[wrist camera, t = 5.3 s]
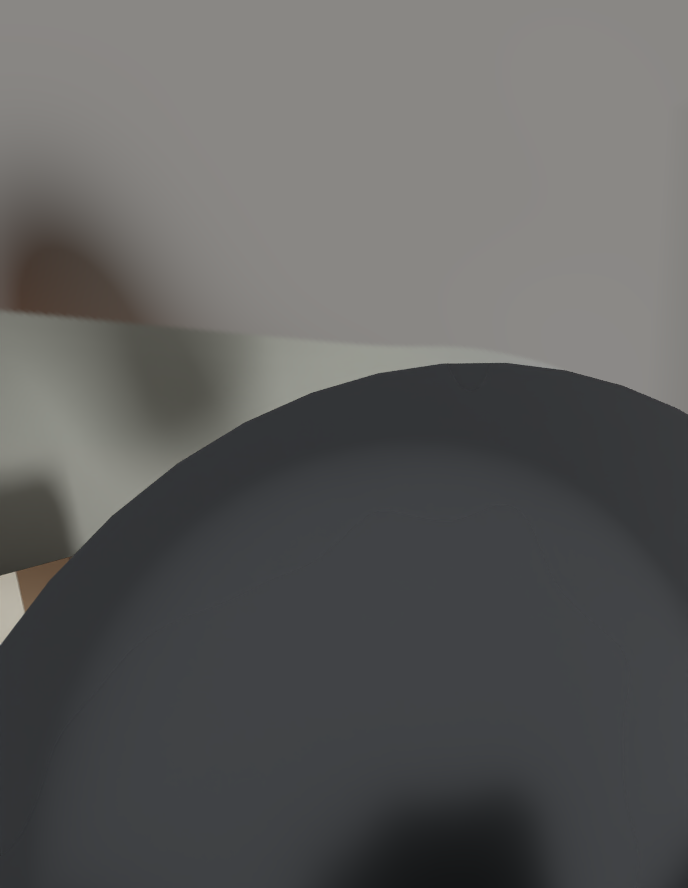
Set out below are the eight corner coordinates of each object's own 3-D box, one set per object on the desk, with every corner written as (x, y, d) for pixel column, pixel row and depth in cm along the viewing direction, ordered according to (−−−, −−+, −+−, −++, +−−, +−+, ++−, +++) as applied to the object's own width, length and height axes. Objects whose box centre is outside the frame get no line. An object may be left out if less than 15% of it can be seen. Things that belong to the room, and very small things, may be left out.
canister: (388, 661, 15) (1123, 1239, 3) (196, 729, 14) (19, 2283, 2) (338, 478, 16) (787, 283, 3) (148, 527, 15) (-279, 517, 2)
